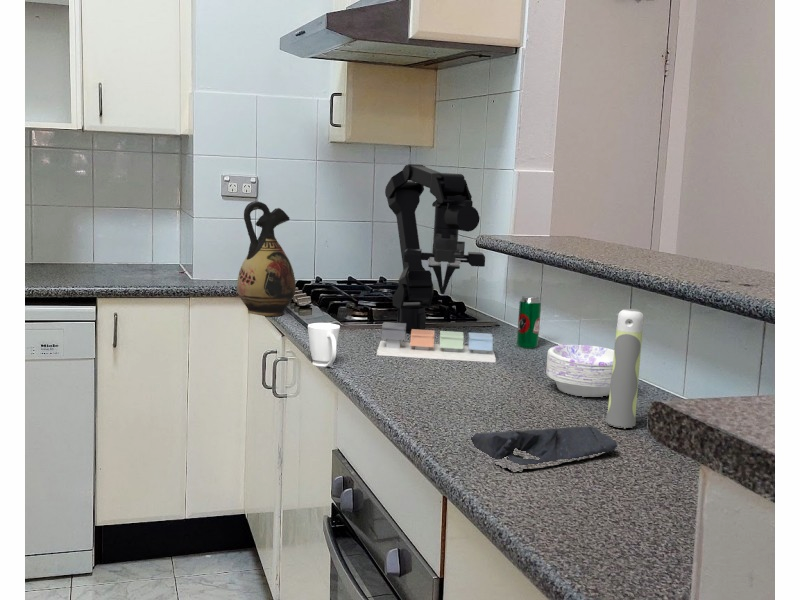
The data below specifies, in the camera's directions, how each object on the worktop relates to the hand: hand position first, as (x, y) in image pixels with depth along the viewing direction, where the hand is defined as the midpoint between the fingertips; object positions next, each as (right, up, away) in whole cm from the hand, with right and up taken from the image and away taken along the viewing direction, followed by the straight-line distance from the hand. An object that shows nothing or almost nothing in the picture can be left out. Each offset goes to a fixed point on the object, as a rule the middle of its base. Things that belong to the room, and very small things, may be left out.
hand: (442, 294), depth 206 cm
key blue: (+8, -12, -9) cm, 17 cm away
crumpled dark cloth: (+12, -25, -73) cm, 78 cm away
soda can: (+21, -13, +4) cm, 24 cm away
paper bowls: (+26, -20, -36) cm, 48 cm away
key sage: (+2, -12, -9) cm, 15 cm away
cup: (-25, -15, -26) cm, 39 cm away
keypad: (-2, -13, -8) cm, 16 cm away
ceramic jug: (-47, -5, +29) cm, 56 cm away
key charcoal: (-11, -10, -8) cm, 17 cm away
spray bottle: (+27, -23, -58) cm, 68 cm away
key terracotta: (-5, -11, -8) cm, 15 cm away
